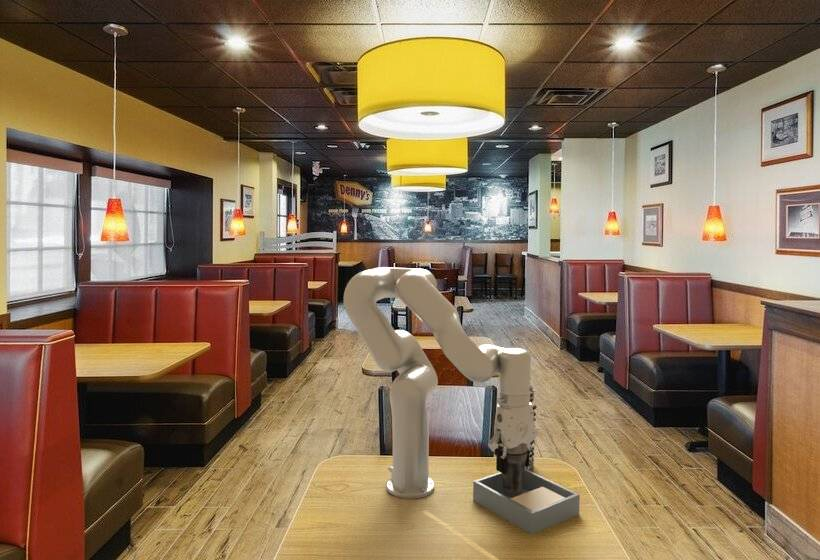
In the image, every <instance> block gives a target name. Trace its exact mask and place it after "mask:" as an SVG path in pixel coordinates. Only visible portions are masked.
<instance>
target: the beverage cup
mask: <svg viewBox="0 0 820 560" xmlns="http://www.w3.org/2000/svg"><path fill="white" fill-rule="evenodd" d="M503 448H504V447H502V446H501V450H500V451H501V452H502V450H503ZM527 453H528V447H527V444H525V443H521V444H519V445H518V446H517V447H515V448H512V449H508V451H507V454H506V457H505V458H507V474H503V473H502V483H503V491H504V495H505V496H507V497H509V498H513V497H516V496H519V495H521V494H522V489H523V481H524V472H525V462H526V458H527Z"/></svg>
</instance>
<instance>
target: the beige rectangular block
mask: <svg viewBox="0 0 820 560" xmlns="http://www.w3.org/2000/svg"><path fill="white" fill-rule="evenodd" d="M564 498H565V497H563V496H561V495H559V494H557V493H555V492H553V491H551V490H549V489H547V488H545V487H540V488H538V489H535V490H532V491H529V492H527V493H524V494H521V495H519V496H516V497H513V498H511V500H513V501H515V502H517V503H518V504H520V505H522V506H524V507H526V508H528V509H529V510H531V511H534V510H536V509H539V508H541V507H544V506H546V505H549V504H551V503H554V502H556V501H559V500H561V499H564Z"/></svg>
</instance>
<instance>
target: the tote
mask: <svg viewBox="0 0 820 560" xmlns="http://www.w3.org/2000/svg"><path fill="white" fill-rule="evenodd" d="M472 484H473V486H472V488H473V489H472V493H473V494H472V495H473V496H472V501H473V502H475V503H477V504H479V506H482V507H483V508H486V509H487V510H488V511H491V512H492V513H494V514H496V515H497V516H498V517H501V518H502V519H504V520H506V521H508V522H509V523H511V524H512V525H514V526H515V527H518V528H520V529H521V530H523V531H524V532H527V533H528V534H530V535H531V536H533V535H535V534H537V533H540V532H542V531H544V530H548V529H549V528H552V527H554V526H556V525H558V524H561V523H562V522H566V521H568V520H570V519H573V518H575V517H577V516H579V515H580V502H581V501H580V499H581V498H580V497H581V495H580V493H578V492H575V491H574V490H571V489H569V488H567V487H565V486H563V485H560V484H558V483H557V482H555V481H552V480H550V479H548V478H545V477H544V476H541V475H540V474H538V473H535V472H534V471H532V470H530V471H529V470H527V469H525V472H524V481H523V489H522V494H524V493H527V492H529V491H532V490H535V489H538V488H540V487H545V488H547V489H549V490H551V491H553V492H555V493H557V494H559V495H561V496H563V497H565V498H564V499H561V500H559V501H556V502H554V503H551V504H549V505H546V506H544V507H541V508H539V509H536V510H534V511H531V510H529V509H528V508H526V507H524V506H522V505H520V504H518V503H517V502H515V501H513V500H511V498H509V497H507V496H505V495H504V491H503V483H502V473H501V472H499V471H498V472H496V473H493V474H490V475H487V476H484V477H481V478H478V479H475V480H473V483H472Z"/></svg>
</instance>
